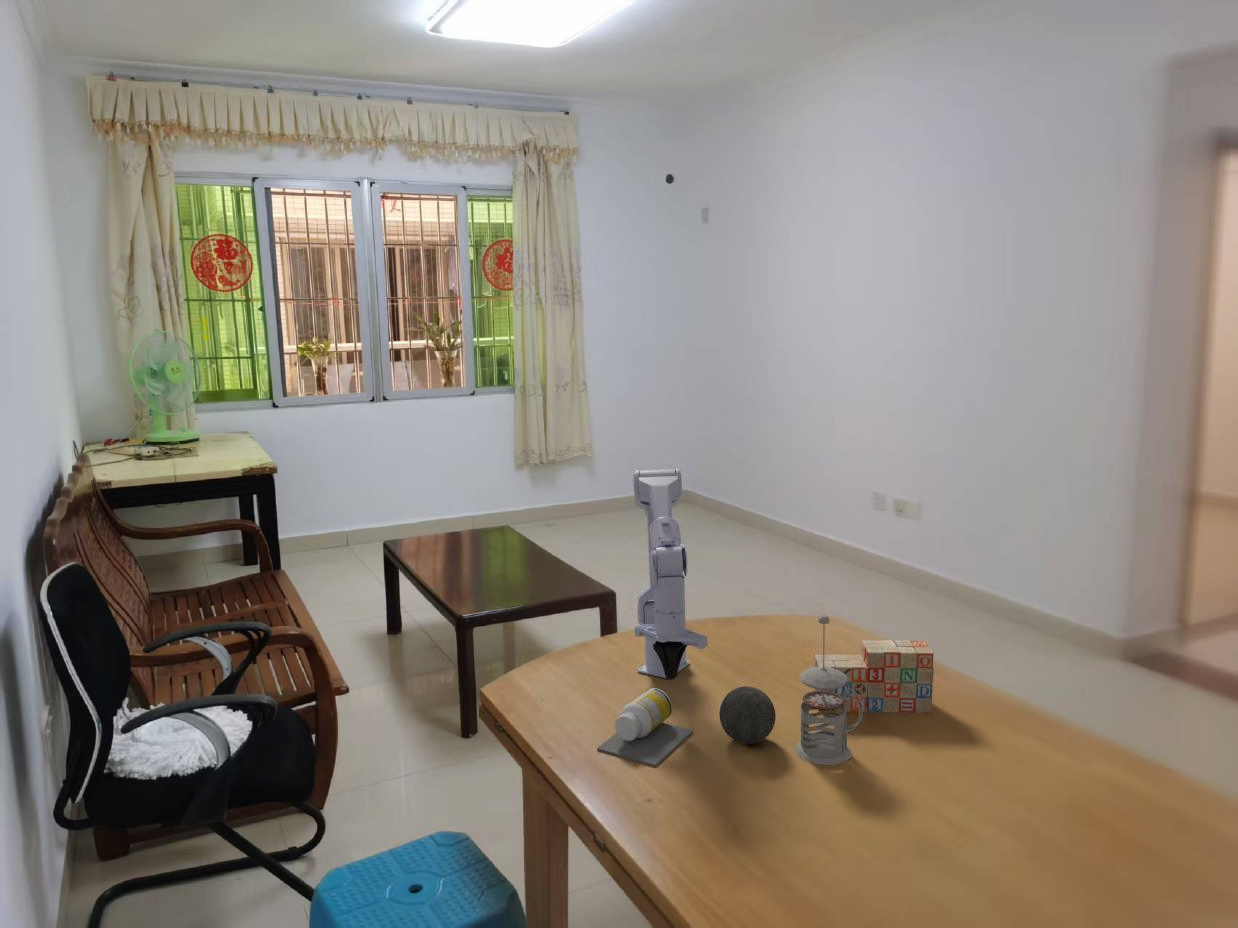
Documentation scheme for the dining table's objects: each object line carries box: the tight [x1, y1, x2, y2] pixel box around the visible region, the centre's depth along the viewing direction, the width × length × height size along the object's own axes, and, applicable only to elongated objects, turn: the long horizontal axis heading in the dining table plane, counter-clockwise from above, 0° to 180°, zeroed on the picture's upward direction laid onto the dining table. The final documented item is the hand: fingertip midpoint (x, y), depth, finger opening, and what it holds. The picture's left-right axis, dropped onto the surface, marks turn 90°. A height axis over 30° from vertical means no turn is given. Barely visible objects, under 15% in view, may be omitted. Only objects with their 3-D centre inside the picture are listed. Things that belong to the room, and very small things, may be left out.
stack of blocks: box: [813, 639, 935, 713], centre depth 172 cm, size 21×6×12 cm, turn 85°
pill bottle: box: [614, 687, 673, 741], centre depth 164 cm, size 6×6×12 cm
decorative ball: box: [718, 685, 777, 745], centre depth 160 cm, size 10×10×10 cm
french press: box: [794, 614, 864, 766], centre depth 154 cm, size 10×12×25 cm
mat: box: [596, 722, 694, 768], centre depth 162 cm, size 14×12×1 cm
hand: (671, 677), depth 169 cm, fingers closed
